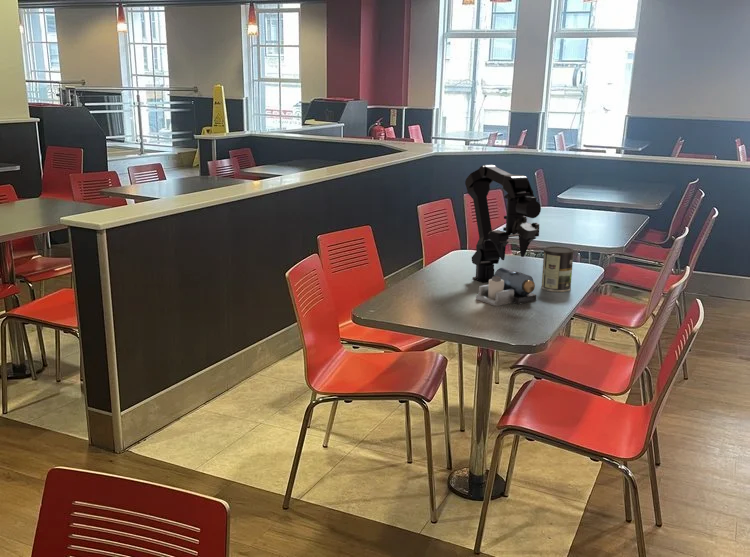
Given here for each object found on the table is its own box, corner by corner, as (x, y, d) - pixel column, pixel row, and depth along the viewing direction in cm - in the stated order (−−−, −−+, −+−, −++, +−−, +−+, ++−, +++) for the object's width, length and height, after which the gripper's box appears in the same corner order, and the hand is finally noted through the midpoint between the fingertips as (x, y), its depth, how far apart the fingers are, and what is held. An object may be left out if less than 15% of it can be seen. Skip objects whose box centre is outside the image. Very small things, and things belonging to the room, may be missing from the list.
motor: (471, 297, 235) (472, 271, 232) (506, 290, 243) (508, 265, 241) (502, 308, 223) (503, 281, 220) (538, 301, 231) (539, 275, 229)
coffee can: (569, 285, 250) (572, 247, 247) (571, 293, 241) (575, 253, 237) (540, 283, 252) (543, 245, 249) (541, 291, 243) (544, 251, 239)
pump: (484, 300, 232) (485, 276, 230) (495, 297, 235) (497, 274, 233) (494, 303, 228) (496, 279, 226) (506, 301, 231) (507, 277, 228)
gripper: (511, 219, 223) (509, 266, 227) (552, 214, 233) (549, 259, 237) (488, 214, 232) (486, 260, 236) (528, 209, 242) (525, 253, 246)
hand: (512, 258), depth 238 cm, fingers open, 9 cm apart
